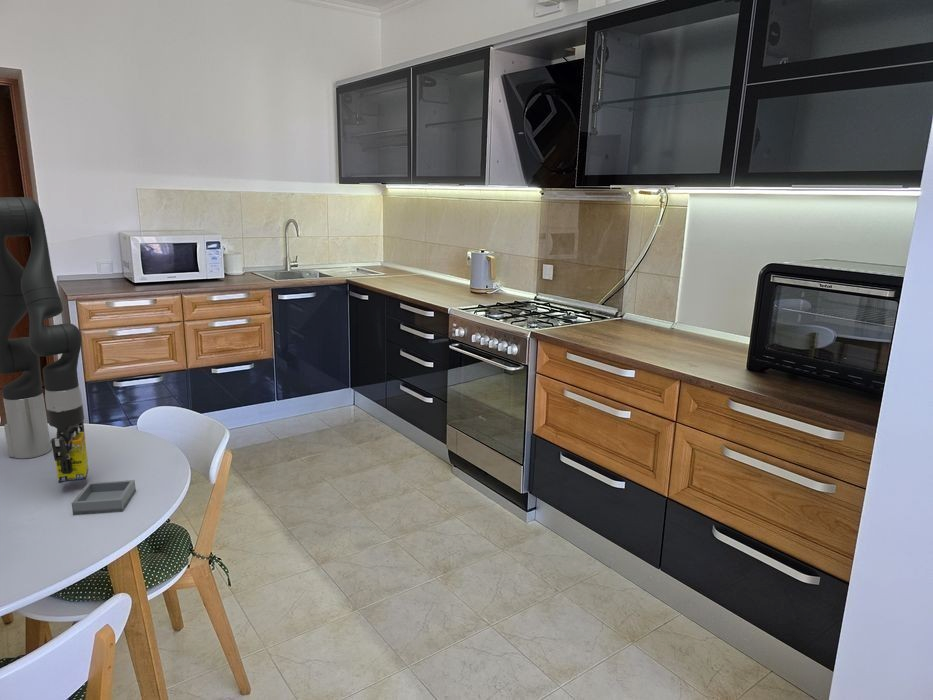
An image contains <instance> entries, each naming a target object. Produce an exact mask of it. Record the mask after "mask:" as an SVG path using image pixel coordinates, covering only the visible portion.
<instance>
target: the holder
mask: <svg viewBox="0 0 933 700" xmlns="http://www.w3.org/2000/svg"><path fill="white" fill-rule="evenodd" d="M136 491H137V489H136V482H135V479H130V480H113V481H99V482H98V481H97V482H87V484H85V486H84V488H82V489H81V491H80V492H79V493H78V494H77V496H76V497H75V498H74V500H73V501H72V502H71V511H72V515H73V516H77V515H78V516H80V515H91V514H92V515H93V514H105V513H107V514H108V513H118V512H124V511H125V508H126V507H127V506H128V503H130V501H131V499H132V498H133V496H134V495H135V493H136Z"/></svg>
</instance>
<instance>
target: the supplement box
mask: <svg viewBox="0 0 933 700" xmlns="http://www.w3.org/2000/svg"><path fill="white" fill-rule="evenodd" d="M84 433H85V431H84V432H80V434H79V435H76V437H75V439H74V440H73V441H72V443H73V450H71V462H72V470H73V471H72V472H71V473H70V474H63V473H62V471H61V464H60V461H55V467H56V473H57V482H58V483H59V484H62V483H68V482H77V481H86V480H87V477H88V473H89V463H88V453H87V446H86V435H85V436H84ZM65 445H66V447H68V446H69V445H70V441H69V442H67V443H65ZM66 451H67V450H66ZM62 455H63V453H62Z"/></svg>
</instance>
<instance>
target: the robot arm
mask: <svg viewBox="0 0 933 700" xmlns="http://www.w3.org/2000/svg"><path fill="white" fill-rule="evenodd" d="M11 237H12V238H13V237H29V240H30V254H29V256H28V260H27V262H26V264H25V267H23V266H22V264H20V262H19V261H18V260H17V258H16V259H15V257H14V256H13V255H12V253H11V252H10V251H9V249H8V248H7V245H6V238H11ZM48 244H49V243H48V238H47V234H46V229H45V221H44V218H43V214H42V211H41V208H40V206H39V204H38V202H37V201H36V200H35V199H34V198H32V197H26V196H25V197H24V196H23V197H22V196H20V197H17V196H14V197H13V196H11V197H0V375H7V374H14V373H18V372H22V373H21V375H20V376H18V377H17V378H16V379H15V380H13V381H11V382H8V383H7V384H5V385H4V386H3V387H2V388H1V394H2V395H1V396H2V399H3V406H4V410H5V411H4V412H5V418H6V419H5V420H6V423H4V425H3V427H4V434H5V440H6V446H7V452H8V457H9V458H15V459H31V458H37V457H40V456H43V455H45V454H48V453H49V452H51V450H52V453H53V459H54V461H55V462H56V461H60V464H61V471H62V473H63V474H70V473H71V472H72V471H73V470H72V462H71V450H73V443H72V441H73V440H74V439H75V437H76V435H79V434H80V432H84V436H85V437H86V434H85V433H86V432H85V424H84V423H85V422H84V421H85V414H84V407H83V406H84V405H83V398H82V392H81V389H80V383H79V377H78V364H79V363H78V362H79V357H80V351H81V347H82V340H83V339H82V332H81V331H80V329H79V328H78V327H77V325H75V324H73V323H71V322H70V323H67V322H66V323H60V324H54V325H53V324H52V325H45V320H48V319H52V318H54V317H57V316H59V315H60V314H61V313H62V312H63V311H64V308H63V303H62V300H61V297H60V294H59V291H58V288H57V285H56V282H55V278H54V275H53V271H52V270H53V268H52V264H51V256H50V251H49V245H48ZM27 313H28V319H29V320H28V321H29V325H28V327H29V331H28V332H29V333H28V336H24V337H15V338H10V336H11V334H12V331H13V329H14V328H15V327H16V326H17V325H18V324H19V322H20V321H21V320H22V319H23V317H25V315H26V314H27ZM55 355H61V356H60V357H59V359H57V360H56V361H54V362H50V363H49V364H47V365H45V366H44V367H43V368H42V370H41V360H40V359H41V358H40V357H42V358H43V357H50V356H55ZM41 371H42V374H41ZM42 377H43V378H42ZM42 379H43V380H42ZM43 385H44V391H43ZM43 392H44V393H43ZM49 426H50V427H52V428H55V429H56V435H55V437H54V438H51V437H50V431H49V429H50V428H49ZM50 438H51V439H50ZM69 441H70V445H69V446H68V447H66V445H65V443H67V442H69ZM66 450H67V451H66ZM62 453H63V455H62Z"/></svg>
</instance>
